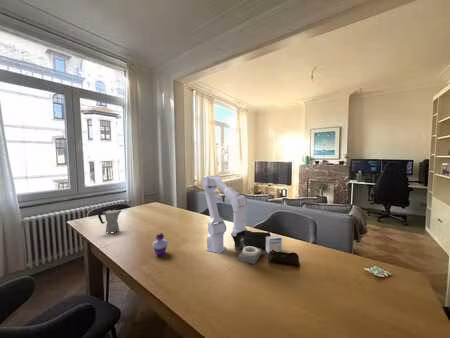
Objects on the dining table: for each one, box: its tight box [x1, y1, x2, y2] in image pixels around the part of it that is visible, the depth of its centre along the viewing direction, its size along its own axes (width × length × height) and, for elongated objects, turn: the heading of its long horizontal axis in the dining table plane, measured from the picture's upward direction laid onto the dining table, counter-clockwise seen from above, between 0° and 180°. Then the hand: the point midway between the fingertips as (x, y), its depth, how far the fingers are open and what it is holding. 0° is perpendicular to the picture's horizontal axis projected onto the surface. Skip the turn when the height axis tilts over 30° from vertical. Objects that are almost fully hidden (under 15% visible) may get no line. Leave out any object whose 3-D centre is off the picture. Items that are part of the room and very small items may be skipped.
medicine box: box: [265, 235, 283, 254], centre depth 120 cm, size 8×4×9 cm, turn 105°
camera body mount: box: [237, 245, 262, 265], centre depth 114 cm, size 9×13×4 cm
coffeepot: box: [97, 207, 122, 233], centre depth 154 cm, size 15×9×18 cm, turn 129°
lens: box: [234, 235, 244, 252], centre depth 109 cm, size 4×4×7 cm
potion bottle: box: [151, 232, 169, 257], centre depth 118 cm, size 9×9×12 cm
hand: (239, 244), depth 109 cm, fingers closed on lens, 4 cm apart
